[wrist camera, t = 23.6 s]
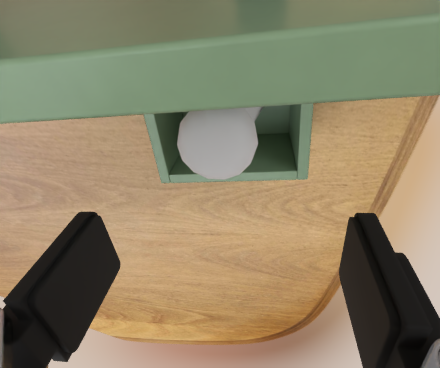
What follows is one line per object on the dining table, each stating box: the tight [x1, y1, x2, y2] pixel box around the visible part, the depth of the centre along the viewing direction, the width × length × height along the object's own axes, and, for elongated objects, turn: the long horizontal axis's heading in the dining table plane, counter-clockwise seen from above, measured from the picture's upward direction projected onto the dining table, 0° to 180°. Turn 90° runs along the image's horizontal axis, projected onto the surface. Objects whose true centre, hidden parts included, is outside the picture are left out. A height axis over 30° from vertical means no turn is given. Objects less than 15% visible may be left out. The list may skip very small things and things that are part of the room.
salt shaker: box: [177, 107, 263, 180], centre depth 20 cm, size 6×6×13 cm
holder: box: [144, 103, 313, 183], centre depth 22 cm, size 15×12×8 cm
